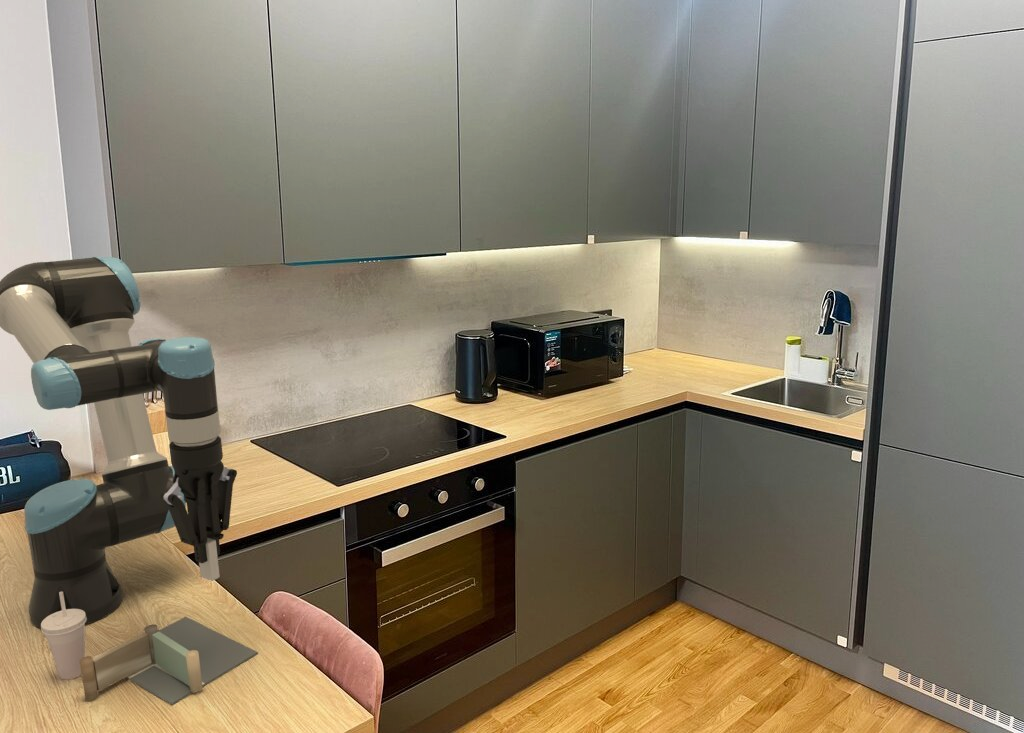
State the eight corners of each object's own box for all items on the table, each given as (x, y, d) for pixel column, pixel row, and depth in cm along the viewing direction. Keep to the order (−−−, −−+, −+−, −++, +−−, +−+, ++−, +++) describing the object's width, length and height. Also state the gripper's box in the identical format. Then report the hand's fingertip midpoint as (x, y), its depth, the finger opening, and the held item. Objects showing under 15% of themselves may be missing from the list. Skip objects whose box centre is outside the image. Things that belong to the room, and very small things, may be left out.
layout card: (99, 662, 135) (99, 660, 134) (185, 618, 147) (185, 616, 147) (171, 705, 124) (171, 703, 123) (258, 653, 136) (257, 651, 136)
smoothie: (101, 660, 135) (89, 583, 132) (83, 684, 129) (69, 604, 126) (61, 661, 135) (48, 584, 132) (41, 685, 129) (27, 605, 125)
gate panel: (154, 665, 133) (149, 632, 131) (164, 660, 134) (160, 627, 132) (194, 693, 125) (189, 658, 124) (204, 687, 127) (200, 652, 125)
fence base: (82, 698, 125) (76, 660, 124) (157, 657, 135) (152, 622, 134) (89, 703, 124) (83, 664, 123) (164, 661, 134) (160, 626, 133)
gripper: (212, 422, 133) (226, 554, 139) (141, 447, 122) (160, 589, 128) (245, 430, 129) (257, 565, 135) (175, 456, 119) (192, 601, 125)
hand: (210, 576), depth 132 cm, fingers closed
